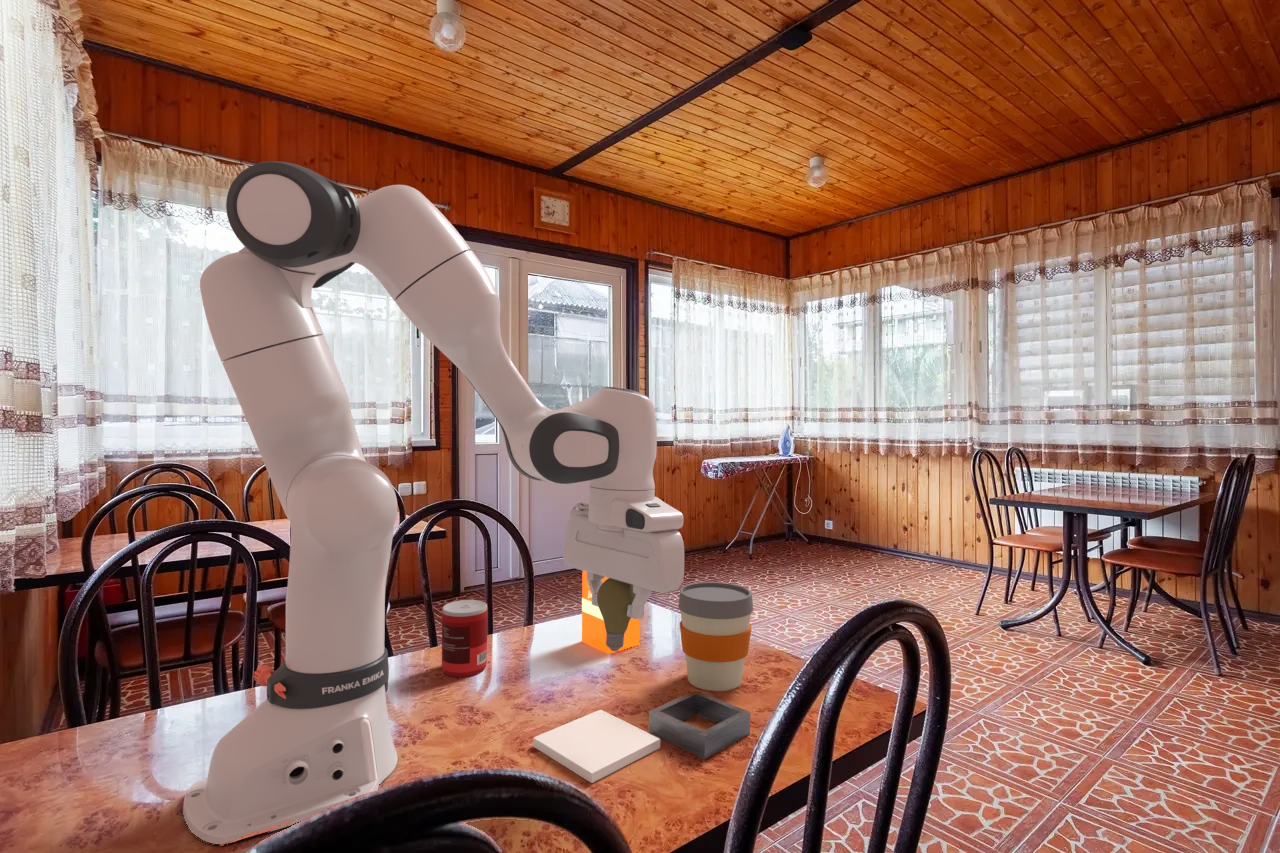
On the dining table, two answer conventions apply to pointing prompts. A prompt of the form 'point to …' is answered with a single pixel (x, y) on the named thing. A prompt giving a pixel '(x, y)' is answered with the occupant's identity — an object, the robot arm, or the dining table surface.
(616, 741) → the cream pad
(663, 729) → the square socket
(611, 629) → the light bulb
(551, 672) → the dining table surface
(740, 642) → the reusable coffee cup
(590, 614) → the orange juice
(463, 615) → the canned food
